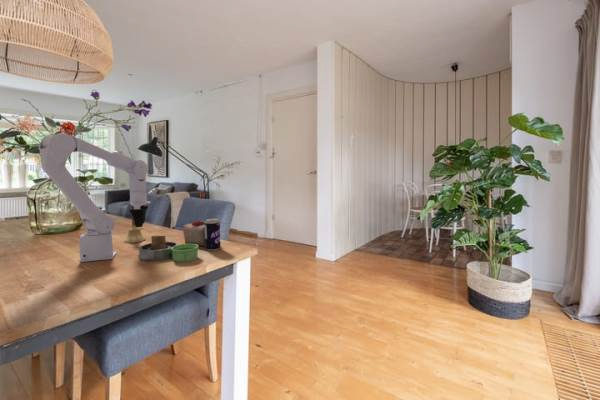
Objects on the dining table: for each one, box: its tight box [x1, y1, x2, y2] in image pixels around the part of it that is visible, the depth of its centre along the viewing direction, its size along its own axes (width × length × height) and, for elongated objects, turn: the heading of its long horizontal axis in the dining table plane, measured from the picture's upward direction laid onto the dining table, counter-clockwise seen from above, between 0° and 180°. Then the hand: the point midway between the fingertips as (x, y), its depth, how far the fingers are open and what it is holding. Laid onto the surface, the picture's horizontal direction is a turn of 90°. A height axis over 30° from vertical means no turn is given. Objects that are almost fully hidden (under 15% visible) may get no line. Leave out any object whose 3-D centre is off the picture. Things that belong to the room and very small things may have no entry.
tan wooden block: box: [150, 234, 166, 250], centre depth 107 cm, size 4×2×6 cm, turn 114°
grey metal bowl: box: [138, 240, 179, 262], centre depth 107 cm, size 13×13×4 cm
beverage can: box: [204, 217, 221, 252], centre depth 114 cm, size 6×6×12 cm
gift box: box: [182, 220, 205, 248], centre depth 123 cm, size 14×8×10 cm, turn 61°
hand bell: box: [124, 205, 147, 244], centre depth 129 cm, size 8×8×16 cm
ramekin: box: [171, 243, 199, 263], centre depth 103 cm, size 9×9×4 cm
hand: (140, 225), depth 116 cm, fingers open, 7 cm apart
